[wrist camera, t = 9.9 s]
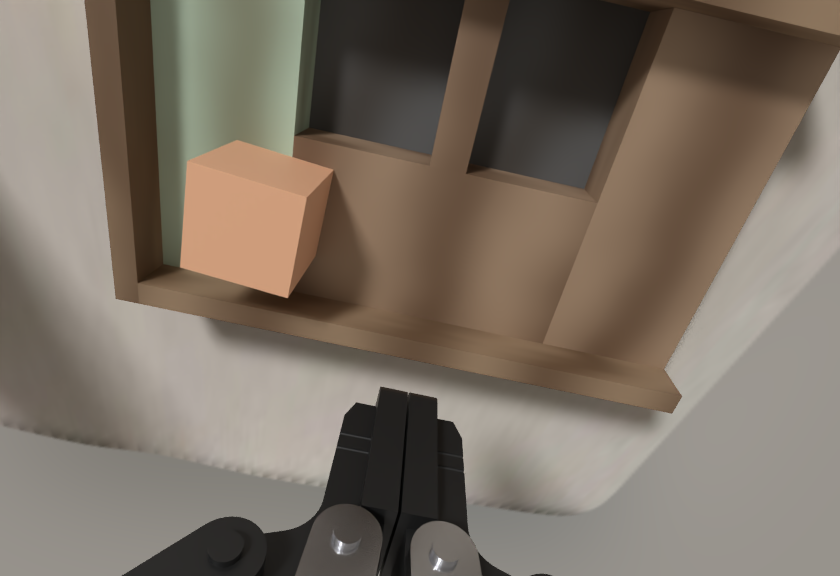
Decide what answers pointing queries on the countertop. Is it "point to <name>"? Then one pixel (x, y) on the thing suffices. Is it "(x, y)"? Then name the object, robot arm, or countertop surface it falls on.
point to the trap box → (465, 165)
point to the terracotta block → (253, 216)
